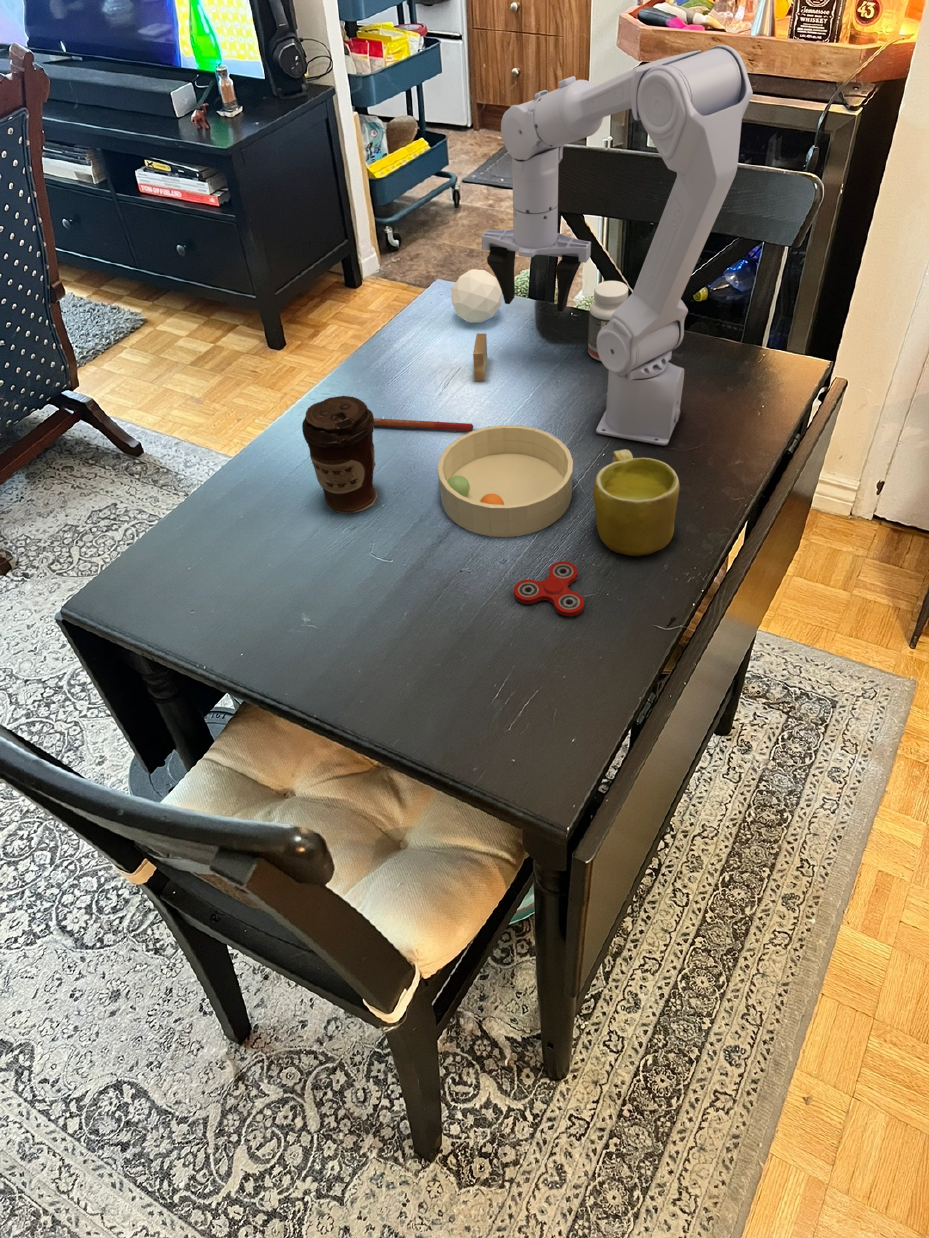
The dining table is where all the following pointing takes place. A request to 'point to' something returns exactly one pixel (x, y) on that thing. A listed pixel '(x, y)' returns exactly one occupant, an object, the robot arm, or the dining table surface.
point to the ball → (476, 296)
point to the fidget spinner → (553, 589)
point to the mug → (635, 504)
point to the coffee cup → (342, 451)
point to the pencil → (423, 424)
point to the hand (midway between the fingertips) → (535, 304)
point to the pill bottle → (604, 309)
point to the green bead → (459, 484)
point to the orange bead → (492, 499)
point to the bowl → (507, 480)
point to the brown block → (480, 357)
